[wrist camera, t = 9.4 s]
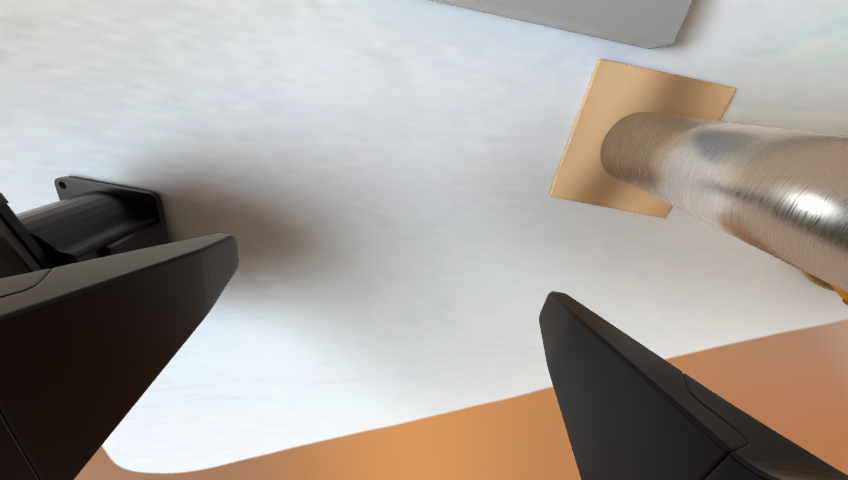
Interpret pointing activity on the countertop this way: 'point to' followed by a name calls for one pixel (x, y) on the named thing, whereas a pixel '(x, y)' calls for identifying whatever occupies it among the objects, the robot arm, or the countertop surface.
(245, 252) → the countertop surface
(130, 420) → the countertop surface
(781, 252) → the t key
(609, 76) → the coaster
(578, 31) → the cover plate
